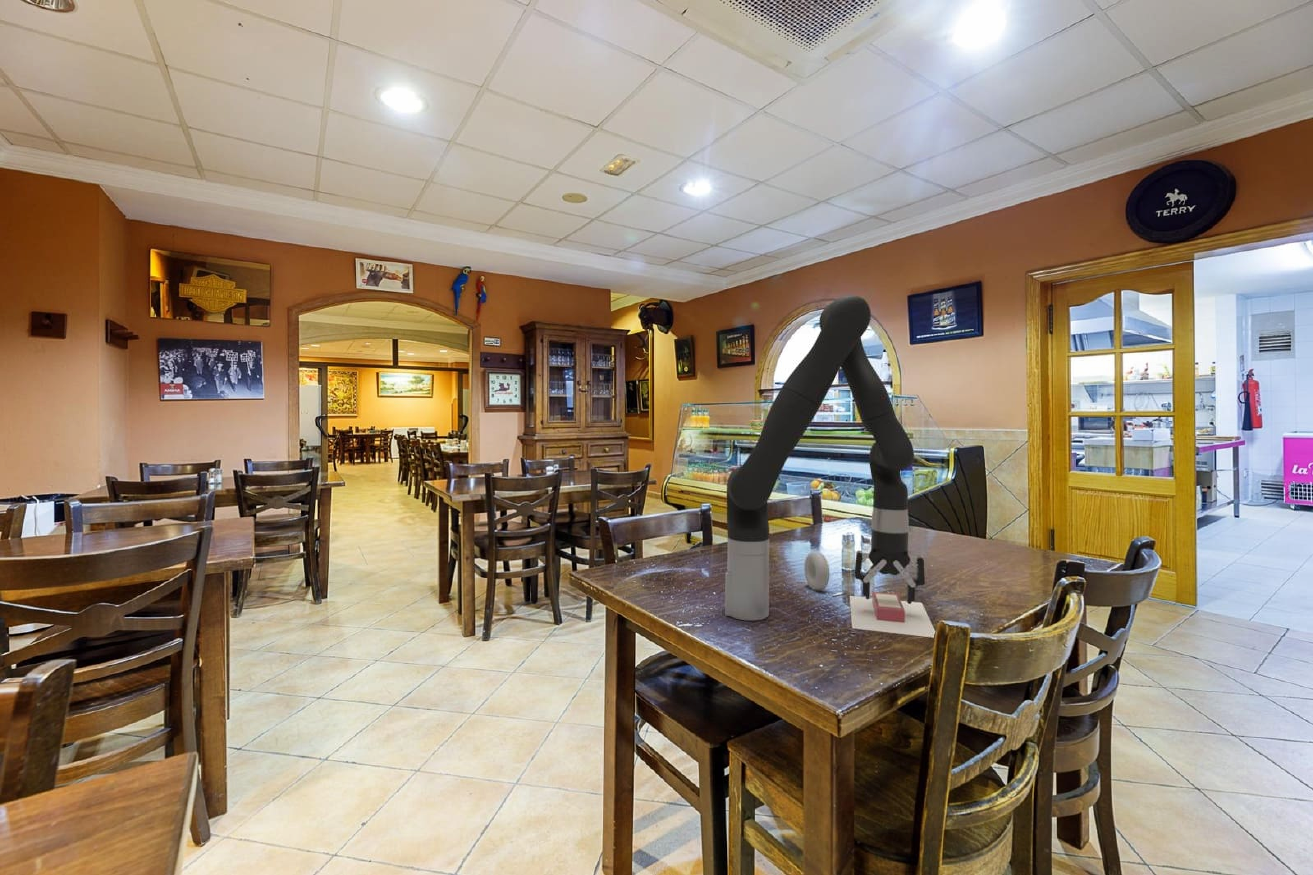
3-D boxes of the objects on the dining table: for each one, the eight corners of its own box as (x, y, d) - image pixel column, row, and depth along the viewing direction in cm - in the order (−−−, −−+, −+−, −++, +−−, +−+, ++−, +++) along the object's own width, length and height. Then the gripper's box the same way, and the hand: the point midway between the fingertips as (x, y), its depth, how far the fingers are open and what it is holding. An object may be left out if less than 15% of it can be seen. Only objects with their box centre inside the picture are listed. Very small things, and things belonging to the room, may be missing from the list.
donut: (832, 596, 134) (832, 556, 134) (818, 596, 134) (819, 556, 134) (814, 584, 144) (814, 547, 144) (801, 584, 144) (802, 547, 143)
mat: (852, 630, 112) (852, 628, 112) (849, 598, 133) (849, 595, 133) (938, 640, 107) (938, 637, 107) (921, 605, 128) (921, 602, 128)
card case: (872, 602, 128) (876, 619, 117) (872, 591, 128) (876, 607, 116) (897, 604, 126) (904, 622, 115) (897, 593, 126) (904, 610, 115)
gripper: (856, 529, 119) (854, 602, 119) (927, 533, 114) (926, 609, 115) (855, 523, 126) (853, 592, 126) (922, 527, 122) (920, 599, 122)
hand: (888, 600), depth 121 cm, fingers open, 8 cm apart
